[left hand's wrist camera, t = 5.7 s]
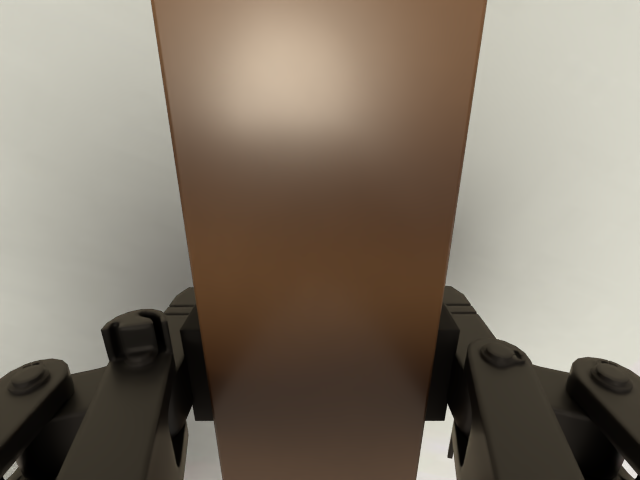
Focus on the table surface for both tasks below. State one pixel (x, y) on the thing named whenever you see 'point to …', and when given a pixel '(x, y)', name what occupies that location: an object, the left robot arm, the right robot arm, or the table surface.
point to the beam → (319, 218)
